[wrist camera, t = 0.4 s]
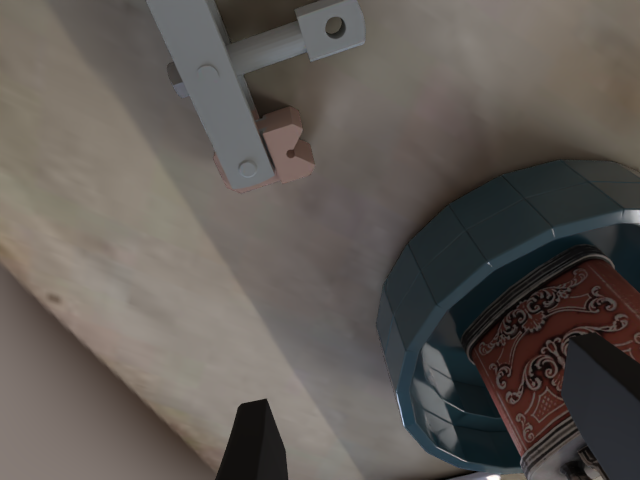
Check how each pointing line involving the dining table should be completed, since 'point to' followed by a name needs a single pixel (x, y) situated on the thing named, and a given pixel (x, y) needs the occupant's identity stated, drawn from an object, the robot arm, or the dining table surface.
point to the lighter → (551, 354)
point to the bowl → (490, 292)
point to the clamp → (231, 88)
